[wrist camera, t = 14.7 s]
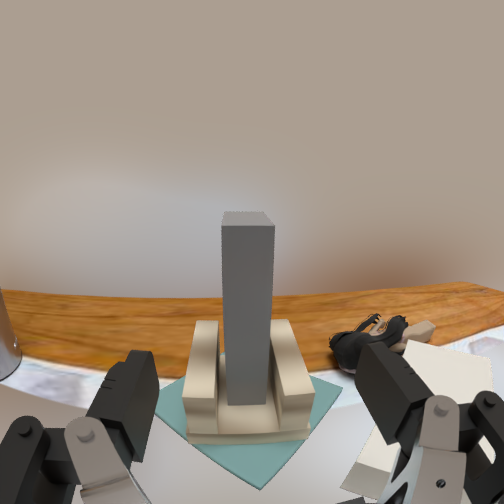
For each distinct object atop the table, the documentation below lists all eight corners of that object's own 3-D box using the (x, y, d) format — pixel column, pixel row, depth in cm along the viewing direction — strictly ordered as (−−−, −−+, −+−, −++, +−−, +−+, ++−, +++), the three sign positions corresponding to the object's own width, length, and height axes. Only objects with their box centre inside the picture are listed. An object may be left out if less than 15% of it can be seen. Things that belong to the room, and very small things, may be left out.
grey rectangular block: (265, 404, 20) (274, 225, 16) (227, 405, 19) (221, 225, 16) (258, 360, 25) (262, 211, 21) (227, 361, 25) (224, 211, 21)
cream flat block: (457, 515, 7) (490, 489, 6) (339, 487, 13) (355, 461, 12) (475, 388, 19) (489, 358, 18) (398, 369, 25) (408, 339, 24)
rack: (307, 438, 17) (319, 391, 16) (188, 443, 17) (177, 396, 15) (286, 364, 27) (290, 318, 25) (198, 366, 26) (193, 320, 25)
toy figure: (395, 325, 35) (315, 354, 29) (410, 286, 33) (330, 307, 26) (431, 351, 29) (356, 397, 23) (450, 311, 27) (380, 349, 20)
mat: (260, 490, 13) (260, 488, 13) (143, 402, 21) (142, 399, 21) (342, 390, 23) (342, 387, 23) (236, 346, 31) (236, 343, 30)
